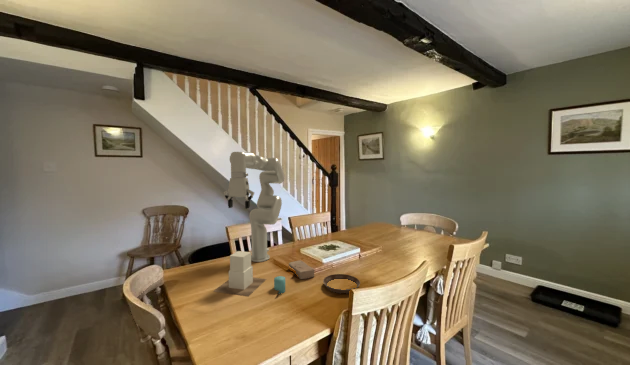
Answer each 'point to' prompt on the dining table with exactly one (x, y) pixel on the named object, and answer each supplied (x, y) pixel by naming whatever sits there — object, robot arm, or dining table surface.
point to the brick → (302, 269)
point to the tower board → (247, 292)
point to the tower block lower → (241, 279)
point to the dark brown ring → (340, 276)
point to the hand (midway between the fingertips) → (238, 207)
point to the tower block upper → (240, 261)
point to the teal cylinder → (279, 284)
